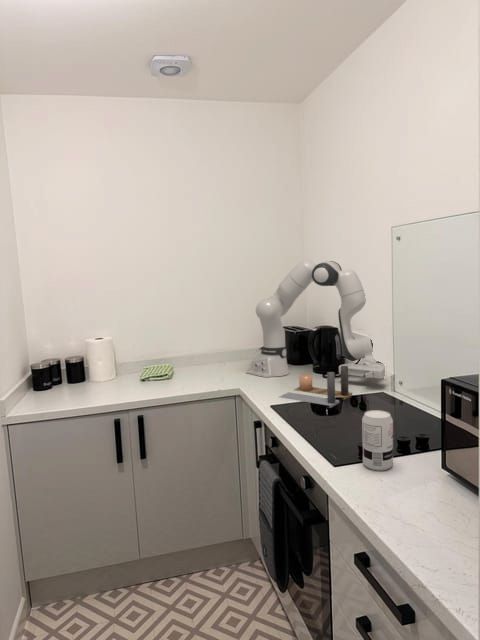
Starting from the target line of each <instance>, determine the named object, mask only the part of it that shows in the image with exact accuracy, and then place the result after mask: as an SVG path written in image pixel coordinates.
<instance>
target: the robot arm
mask: <svg viewBox="0 0 480 640" xmlns="http://www.w3.org/2000/svg"><path fill="white" fill-rule="evenodd" d="M312 282H314V283H315V284H316V285H318V286H321V287H333V286H334V287H336V289H337V291H338V294H339V297H340V300H341V301H340V302H341V305H340V307H339V309H338V322H339V323H338V324H339V329H340V334H341V335H340V336H341V341H342V342H341V343H342V346H341V348H342V349H341V350H342V354H343V356H344V357H345V358H346V359H347V360H348V361H350V362H356V361H358V363H357V364H356V363H344V364H340V365H339V366H338V373H339V374H340V375H341V366H348V376H353V377H354V376H355V377H362V378H363V379H370V378H371V379H378V380H380V379H381V380H382V379H384V376H385V366H384V364H383V363H381V362H379V361H376V360H375V359H374V358H373V355H372V352H373V343H372V340H371V339H370V338H369V337H366V336H363V337H359V338H353V333H352V325H351V319H352V318H353V317H354V316H355V315H356V314H357V313H358V312H360V311H361V310H362V309H363V308H364V306H365V305H366V301H367V298H365V296H366V293H364V292H365V290H364V286H363V284H362V282H361V280H360V277H359V276H358V274H357V273H356V271H355V270H353V269H345V270H342V267H341V265H340V264H339V263H338V262H336V261H334V260H331V261H330V260H327V261H326V260H325V261H323V262H319V263H318V264H315V263H314V262H313V261H311V260H308V259H304V260H301V262H299V263H297V265H295V266H294V267H293V268H292V269H291V270H290V272H288V274H287V275H286V276H285V277H284V278H283V279H282V281H280V283H279V284H278V287H277V288H276V291H274V294H273V295H271V296H270V297H267V298H263V299H262V300H261V301H260V302H259V303H257V305H256V308H255V314H256V316H257V317H258V318H259V322H260V325H261V329H262V338H263V339H262V340H263V342H262V343H263V345H262V346H261V347H259V351H260V353H259V354H258V355H257V356H255V358H253V359H252V361H250V368H248V369H246V374H249V375H254V376H259V377H263V378H272V377H282V376H287V375H290V373H291V372H290V370H289V366H288V360H287V354H288V353H287V345H286V331H285V328H284V326H283V324H282V317H284V316H285V315H286V314H287V313H288V312H289V310H290V309H291V307H292V306H293V305H294V303H295V301H297V299H298V298H299V297H300V295H302V293H303V292H304V291H305V290H306V289H307V288H308V287H309V286H310V284H311V283H312Z"/></svg>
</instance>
